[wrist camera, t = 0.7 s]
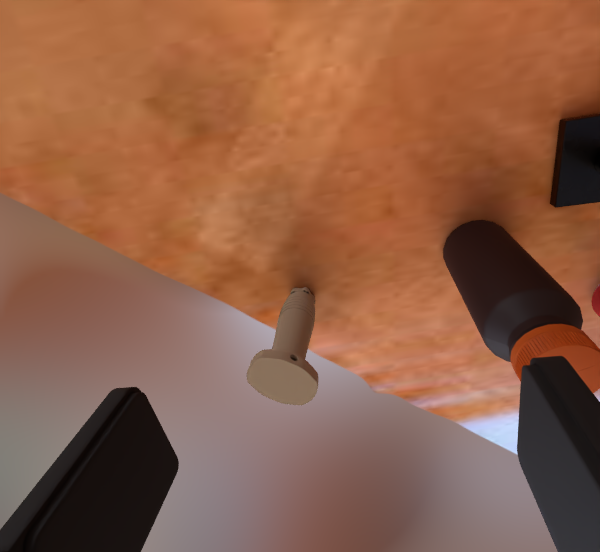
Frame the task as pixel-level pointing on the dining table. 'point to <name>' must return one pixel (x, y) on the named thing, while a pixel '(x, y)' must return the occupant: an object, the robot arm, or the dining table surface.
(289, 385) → the handle
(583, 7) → the dining table surface
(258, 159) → the dining table surface
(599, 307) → the beverage can
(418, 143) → the dining table surface
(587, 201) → the post
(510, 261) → the bottle
